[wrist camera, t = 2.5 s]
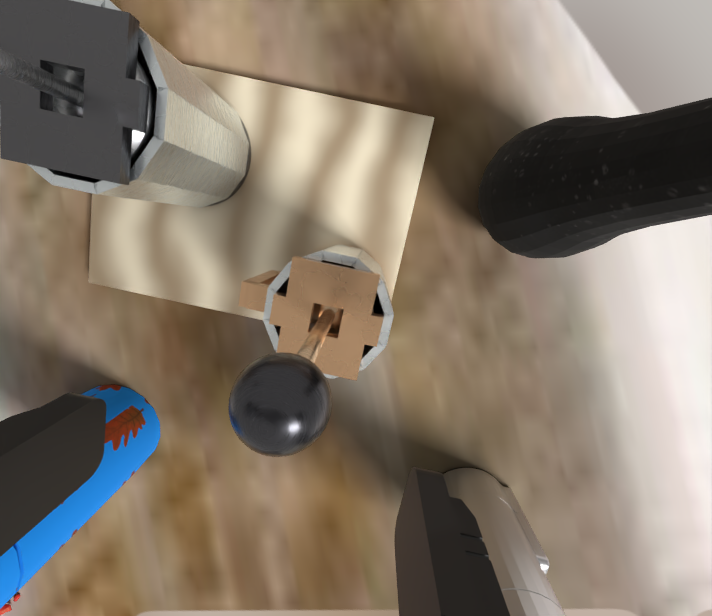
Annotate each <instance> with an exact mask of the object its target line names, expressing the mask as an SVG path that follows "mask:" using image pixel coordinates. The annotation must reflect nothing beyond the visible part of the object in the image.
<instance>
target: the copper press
mask: <svg viewBox="0 0 712 616" xmlns="http://www.w3.org/2000/svg"><path fill="white" fill-rule="evenodd" d="M315 303H317V304H321V305H326V306H331V307H335V308H340V309H344V311H343V316H342V321H341V325H340V330H339V335H336V334H332V333H328V334H327V336H326V338H325V340H324V342H323V345H322V347H321V349H320V351H319V354H318V356H317V358H316V360H315V362H314V364H315V365H316V366H317V367H319V369H320V370H321V371H322V372H323V374H324V376H325V377H326V378H331V379H332V378H337V377H342V378H347V379H351V380H356V381H357V376H358V372H359V371H361V370H363V369H365V368H366V367H367V366H368V365H369V364H370V363H371V362H372V361H373V360H374V358H375V357H376V356H377V355H378V354H379V353H380V352H381V351H382V350H383V349H384V348H385V347H386V345H387V341H388V337H389V333H390V329H391V324H392V320H393V316H394V313H393V309H392V304H391V300H390V296H389V291H388V287H387V284H386V281H385V278H384V274H383V271H382V268H381V266H380V264H379V263H377V262H376V260H375V259H374V258H373V257H372V256H370V255H369V254H368V253H367V252H365V251H364V250H362V249H360V248H356V247H353V246H347V245H341V244H338V245H335V246H332V247H329V248H326V249H323V250H320V251H317V252H314V253H311V254H309V255H306V256H303V257H298V256H294V257H292V261H290V262H289V263H288V264H287V265H286V266H285V268H284V269H283V270H282V271H276V270H270V271H267V272H265V273H262V274H260V275H257V276H255V277H252V278H249V279H247V280H244V281H242V283H241V291H240V298H239V305H238V306H241V307H246V308H247V309H251V310H256V311H261V312H264V316H263V322H264V324H265V327H266V329H267V332H268V334H269V337H270V340H271V342H272V345H273V347H274V350H276V352H277V353H280V352H287V353H294V354H297V353H298V351H299V349H300V348H301V346H302V345H303V343H304V341H305V340H306V338H307V337H308V335H309V333H310V332H311V330H312V329H310V326H311V321H312V315H313V310H314V305H315ZM372 310H374V313H372Z"/></svg>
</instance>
